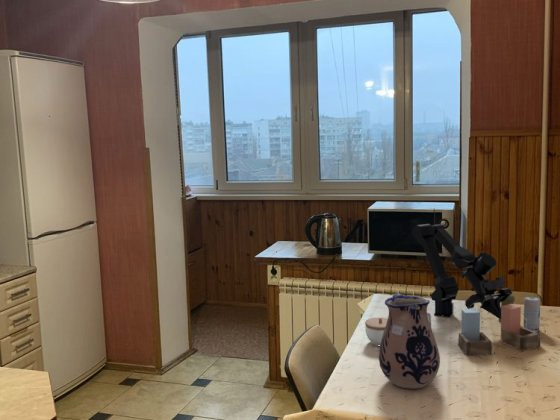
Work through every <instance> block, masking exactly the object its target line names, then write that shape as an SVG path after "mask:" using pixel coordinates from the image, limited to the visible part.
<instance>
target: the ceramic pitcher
mask: <svg viewBox="0 0 560 420" xmlns="http://www.w3.org/2000/svg"><path fill="white" fill-rule="evenodd" d="M430 303H431V301H430V300H429V299H426V298H424V297H421V296H415V295H413V296H411V295H404V294H402V293H400V292H396V293H394V294H393V295H392V296H391V297H388V298H387V299H385V301H384V305H385V306H386V307H387V308H388V315H387V318H388V320H387V323H386V327H385V330H384V333H383V336H382V340H381V344H380V346H379V350H378V351H379V352H378V361H379V362H378V363H379V367H380V369H381V371H382V373H383V374H384V377H385V378H386V379H387V380H389V382H391V383H392V384H393V385H395V386H396V387H399V388H402V389H410V390H411V389H413V390H415V389H416V390H417V389H422V388H424V387H426V386H428V384H430V383H431V382H432V381H433V380H434V379H435V378H436V376H437V373H438V372H439V369H440V365H441V357H440V351H439V348H438V344H437V341H436V338H435V335H434V332H433V328H432V325H431V326H430V323H429V320H428V316H427V312H428V306H429V304H430Z"/></svg>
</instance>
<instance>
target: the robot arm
mask: <svg viewBox="0 0 560 420" xmlns="http://www.w3.org/2000/svg"><path fill="white" fill-rule="evenodd" d="M412 235H413V237H414V239H415V241H416V242H417V243H418V244H419V245H420V246H422V249H423V251H424V253H425V255H426V259H427V260H428V263H429V265H430V268H431V270H432V273H433V276H434V278H435V279H434V284H433V285H434V291H433V292H432V293H430V297H431V300H432V301H434V313H433V315H434V316H438V317H445V318H451V316H452V315H454V302H453V300H456V298H457V295H458V293H459V287H458V286H459V284H458V282H457V280H456V277H454V276H450V275H449V274H448V272H447V270H446V267H445V265H444V263H443V260H442V257H441V255H440V253H439V250H438V249H437V246H436V242H435V239H436V240H437V241H438V242H439V243H440V244H441V245H442V246H443V248H445V250H446V251H447V252H448V253H449V255H450V258H451V261H452V263H453V265H454V267H455V268H457V269H459V270H463V269H466V270H463V271H461V272H462V273H461V279H466V280H468V282H469V284H470V286H471V288H470V291H471V292H475V294H472V295H470V296H469V297H468V298H467V299H466V300H465V301H464V306H465V307H466V309H474V307H475V304H478V303H480V306H479V308H480V309H482V310H485V311H487V312H488V313H490V314H491V315H493V316H494V317H496V318H497V319H498V320H499V319H501V303H502V301H504V300H506V299H507V298H508V297H509V296H510V295H511V294H512V295H513V291H512V290H511V288H509V287H505V286H504V285H506V284H507V283H506V280H505V278H504V277H503V276H498V277H495V279H494V280H490V279H489V278H488V279H486V277H485V276H486V275H488V274H489V273H490V272H491V270H493V269H494V268H496V265H497V260H496V259H495V257H493V256H492V255H490V254H488V253H487V252H486V251H482V252H480V253H479V254H478V256H476V255H475V254H474V253H473V252H471V251H470V250H468V249H467V248H465V247H463V246H461V245H460V244H459V243H458V241H456V240H455V239H454V237H453V236H451V234H450V233H449V232H448V231H447V230H446V229H445V227H444V225H443V224H441V223H440V224H431V223H426V224H417V225H415V226H414V227H413V229H412ZM498 289H499V290H498Z"/></svg>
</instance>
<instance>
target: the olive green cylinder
mask: <svg viewBox="0 0 560 420" xmlns="http://www.w3.org/2000/svg"><path fill="white" fill-rule="evenodd" d="M515 298H516V297H515V296H514V295H513V293H512V294H511V295H510V296H509V297H508V298H507V299H506V300H504V301H502V302H500V307H501V306H504V305H509V304H514V303H515ZM498 322H499V323H500V324H501V319H499V318H498Z"/></svg>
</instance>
